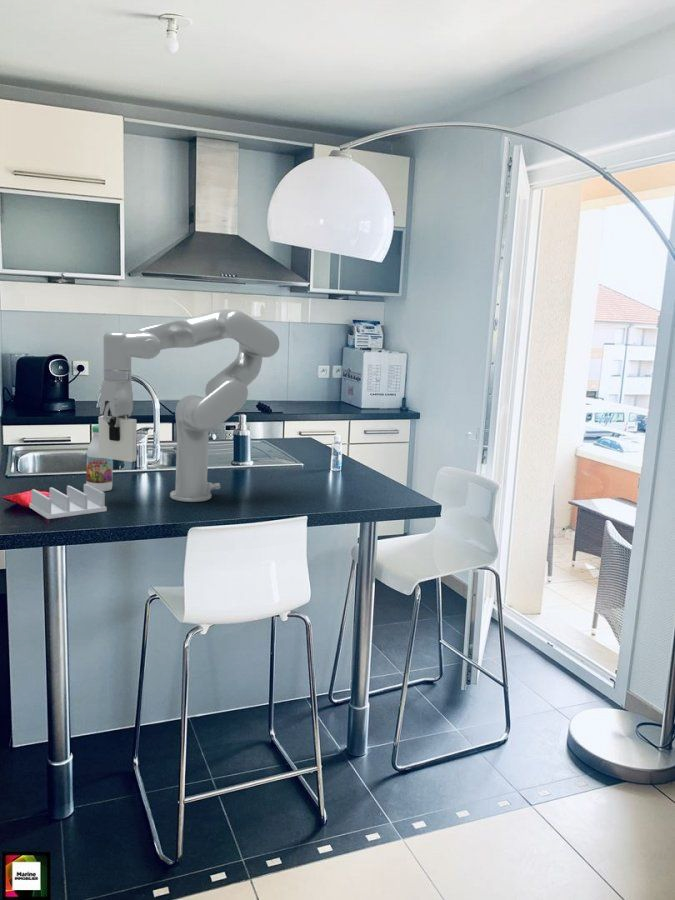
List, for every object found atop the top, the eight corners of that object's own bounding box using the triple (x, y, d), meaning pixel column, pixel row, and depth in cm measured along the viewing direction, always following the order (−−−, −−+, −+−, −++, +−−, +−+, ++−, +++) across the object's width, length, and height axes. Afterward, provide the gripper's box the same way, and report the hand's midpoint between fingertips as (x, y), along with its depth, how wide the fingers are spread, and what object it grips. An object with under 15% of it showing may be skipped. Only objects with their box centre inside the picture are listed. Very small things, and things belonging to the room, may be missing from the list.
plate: (103, 456, 218) (103, 415, 216) (136, 460, 215) (136, 419, 213) (98, 457, 216) (98, 416, 214) (131, 461, 213) (131, 420, 210)
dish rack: (86, 500, 219) (86, 483, 218) (106, 511, 209) (106, 493, 208) (29, 507, 207) (29, 489, 206) (47, 519, 198) (47, 500, 197)
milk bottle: (85, 486, 234) (86, 423, 230) (111, 486, 237) (112, 424, 233) (86, 492, 227) (87, 428, 223) (113, 492, 230) (114, 428, 226)
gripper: (122, 372, 219) (122, 434, 223) (88, 376, 204) (89, 442, 208) (144, 374, 217) (144, 436, 221) (112, 379, 202) (112, 445, 206)
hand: (117, 439), depth 214 cm, fingers closed on plate, 2 cm apart
